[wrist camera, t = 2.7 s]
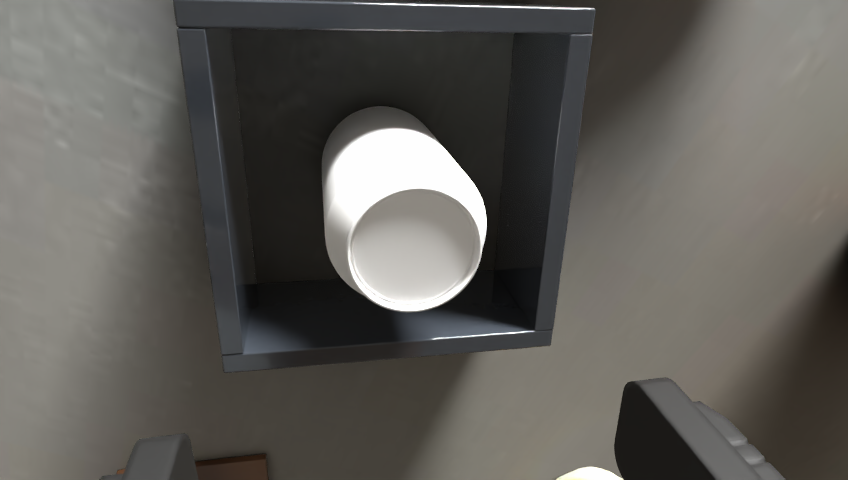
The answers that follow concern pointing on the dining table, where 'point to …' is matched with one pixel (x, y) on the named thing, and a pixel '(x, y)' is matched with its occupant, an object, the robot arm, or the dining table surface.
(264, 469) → the coaster
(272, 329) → the grey open box
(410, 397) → the dining table surface
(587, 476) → the bread roll
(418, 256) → the beverage can
